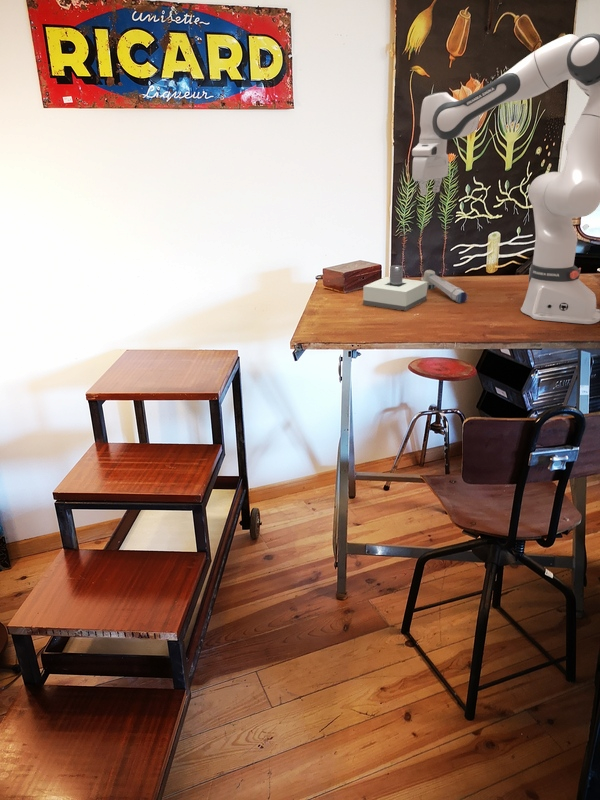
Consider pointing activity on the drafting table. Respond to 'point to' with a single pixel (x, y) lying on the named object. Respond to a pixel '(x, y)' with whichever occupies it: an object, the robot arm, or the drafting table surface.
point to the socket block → (395, 294)
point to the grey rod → (444, 286)
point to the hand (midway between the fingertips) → (429, 193)
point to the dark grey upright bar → (396, 275)
